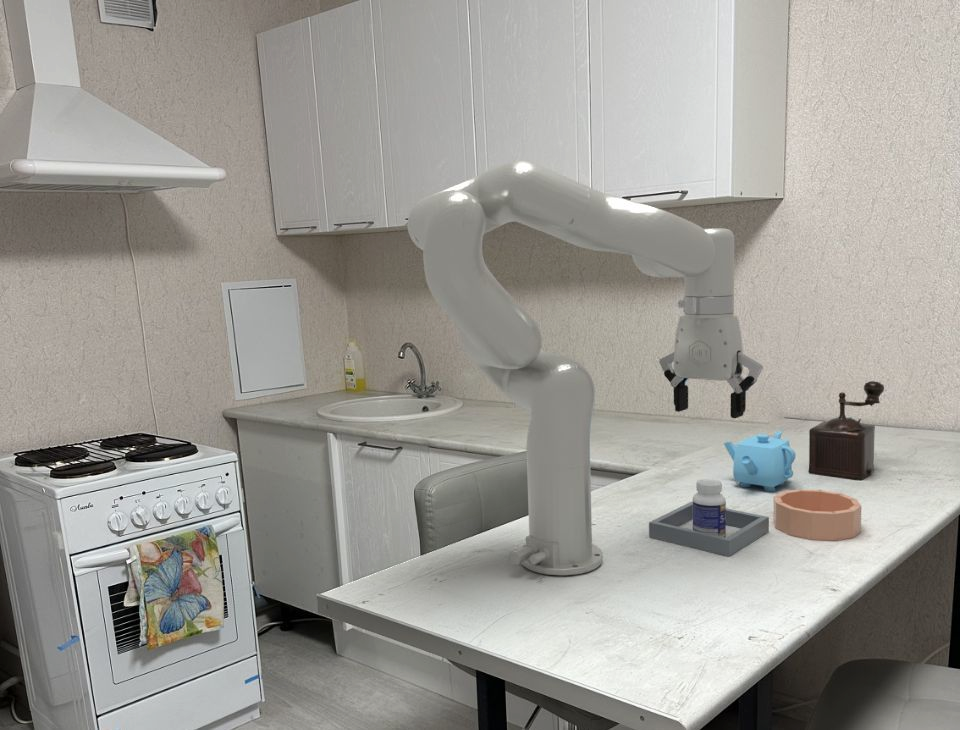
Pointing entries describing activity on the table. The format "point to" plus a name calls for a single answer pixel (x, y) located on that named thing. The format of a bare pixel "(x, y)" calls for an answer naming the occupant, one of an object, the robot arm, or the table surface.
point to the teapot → (762, 461)
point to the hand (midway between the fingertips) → (708, 413)
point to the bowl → (817, 514)
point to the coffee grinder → (845, 441)
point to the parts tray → (726, 546)
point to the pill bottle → (709, 508)
